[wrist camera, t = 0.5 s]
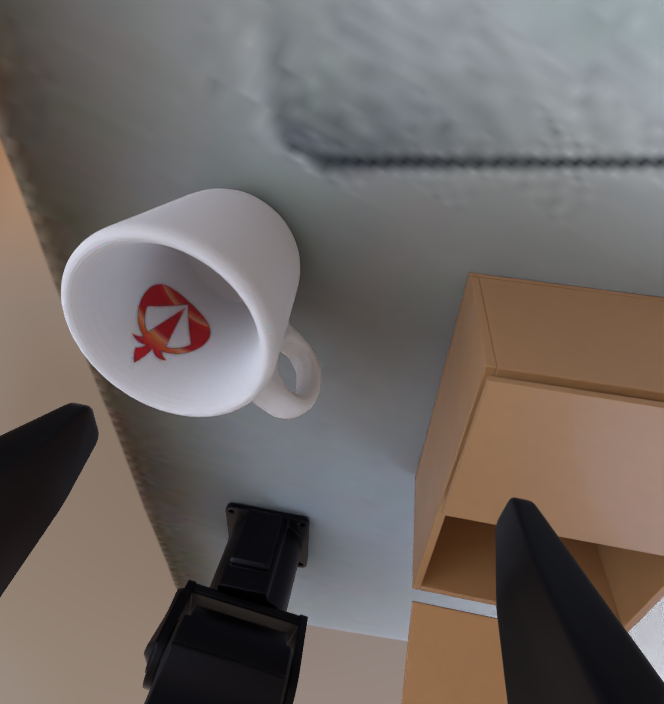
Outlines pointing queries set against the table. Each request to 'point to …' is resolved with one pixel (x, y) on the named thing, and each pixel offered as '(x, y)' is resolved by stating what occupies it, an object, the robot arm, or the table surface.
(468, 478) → the carton
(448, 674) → the flap
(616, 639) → the robot arm
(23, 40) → the table surface
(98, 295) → the cup
